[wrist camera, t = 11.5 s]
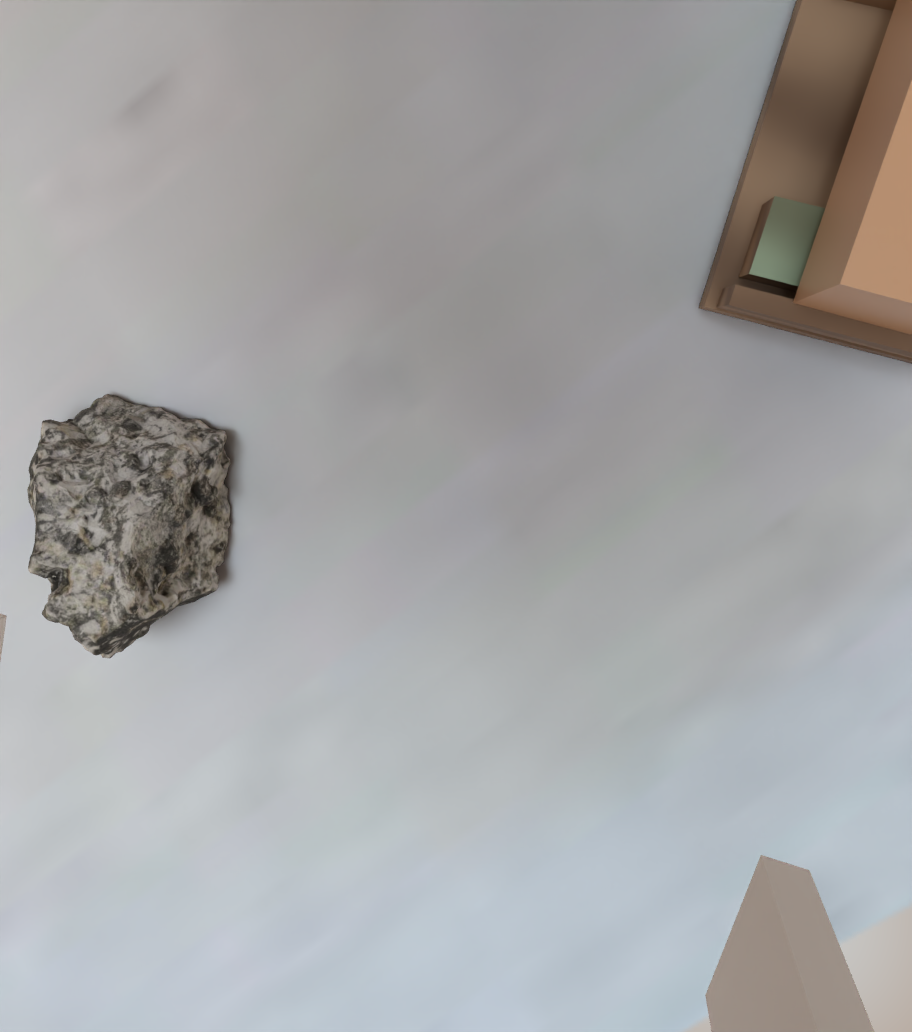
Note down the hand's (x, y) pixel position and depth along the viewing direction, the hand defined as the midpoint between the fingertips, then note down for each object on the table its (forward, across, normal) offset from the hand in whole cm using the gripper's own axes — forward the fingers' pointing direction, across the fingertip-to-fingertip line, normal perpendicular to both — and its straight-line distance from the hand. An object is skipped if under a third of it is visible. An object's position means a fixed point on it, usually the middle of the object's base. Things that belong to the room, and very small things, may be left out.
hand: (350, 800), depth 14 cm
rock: (+29, -18, -6) cm, 35 cm away
